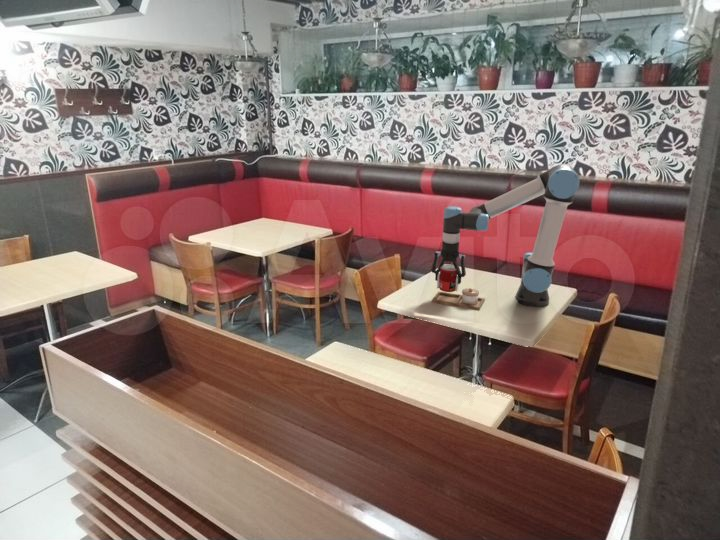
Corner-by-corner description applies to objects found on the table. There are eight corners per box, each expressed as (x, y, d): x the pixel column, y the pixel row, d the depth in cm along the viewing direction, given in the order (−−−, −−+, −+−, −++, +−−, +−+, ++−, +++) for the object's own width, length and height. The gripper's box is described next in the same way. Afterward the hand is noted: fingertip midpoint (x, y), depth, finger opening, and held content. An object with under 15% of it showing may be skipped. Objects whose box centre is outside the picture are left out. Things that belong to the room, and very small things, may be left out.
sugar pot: (479, 301, 248) (480, 286, 245) (476, 307, 241) (477, 292, 239) (463, 299, 250) (464, 284, 248) (459, 304, 244) (460, 289, 241)
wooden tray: (484, 303, 249) (484, 298, 248) (479, 312, 239) (479, 307, 238) (438, 296, 257) (438, 291, 256) (431, 304, 247) (431, 299, 246)
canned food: (452, 293, 243) (453, 270, 239) (436, 290, 247) (437, 267, 243) (458, 288, 249) (460, 266, 245) (442, 285, 253) (444, 263, 249)
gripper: (475, 241, 240) (471, 289, 247) (430, 236, 248) (428, 283, 255) (472, 246, 233) (468, 294, 241) (426, 240, 241) (423, 288, 248)
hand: (447, 288), depth 248 cm, fingers closed on canned food, 8 cm apart
